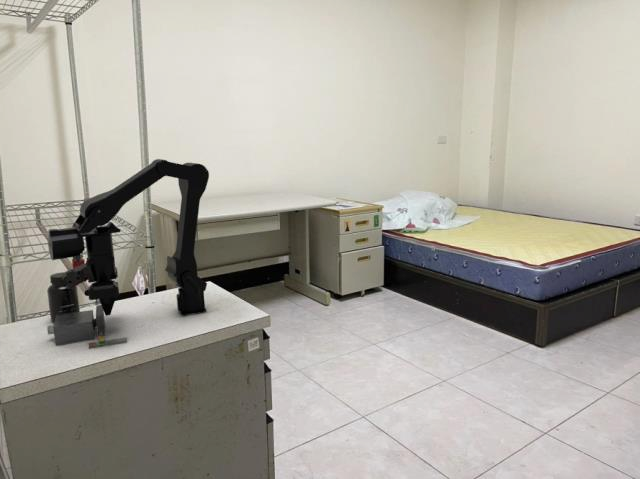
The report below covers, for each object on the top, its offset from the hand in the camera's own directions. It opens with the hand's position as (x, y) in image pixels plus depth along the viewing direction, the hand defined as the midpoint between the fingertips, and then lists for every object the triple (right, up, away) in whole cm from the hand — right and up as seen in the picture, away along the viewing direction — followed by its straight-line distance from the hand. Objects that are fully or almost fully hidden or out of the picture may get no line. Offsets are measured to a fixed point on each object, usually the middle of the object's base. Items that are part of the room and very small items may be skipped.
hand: (107, 314), depth 116 cm
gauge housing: (-3, -5, -3) cm, 6 cm away
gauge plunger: (-6, -5, -4) cm, 8 cm away
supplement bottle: (-15, -3, +9) cm, 17 cm away
